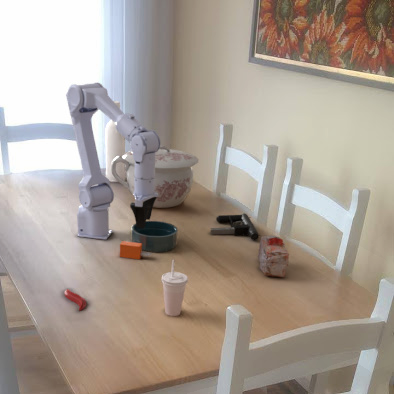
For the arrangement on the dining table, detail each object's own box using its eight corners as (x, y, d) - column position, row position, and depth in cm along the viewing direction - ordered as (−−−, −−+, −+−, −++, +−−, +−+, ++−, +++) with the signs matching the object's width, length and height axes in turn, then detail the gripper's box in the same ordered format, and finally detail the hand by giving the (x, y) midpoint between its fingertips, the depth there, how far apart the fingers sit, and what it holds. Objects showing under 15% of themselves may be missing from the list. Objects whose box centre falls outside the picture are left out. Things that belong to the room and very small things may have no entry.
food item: (288, 279, 164) (294, 247, 159) (261, 279, 163) (265, 246, 158) (278, 260, 175) (283, 230, 170) (252, 260, 175) (257, 229, 169)
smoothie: (159, 306, 145) (161, 254, 138) (184, 306, 146) (188, 255, 138) (160, 318, 140) (162, 265, 132) (186, 318, 140) (190, 266, 133)
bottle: (103, 181, 234) (102, 102, 218) (109, 176, 240) (108, 99, 225) (122, 183, 233) (122, 104, 217) (127, 178, 240) (127, 101, 224)
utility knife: (119, 257, 169) (119, 244, 167) (122, 253, 172) (122, 240, 170) (149, 260, 169) (149, 248, 167) (151, 257, 171) (152, 244, 169)
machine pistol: (214, 234, 184) (263, 232, 186) (205, 213, 201) (250, 211, 203) (214, 243, 186) (262, 241, 188) (205, 222, 203) (249, 221, 204)
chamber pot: (209, 202, 219) (213, 146, 208) (168, 220, 199) (171, 159, 188) (150, 187, 231) (151, 133, 220) (106, 202, 211) (105, 144, 200)
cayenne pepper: (88, 310, 141) (88, 303, 140) (69, 311, 139) (69, 304, 138) (81, 288, 150) (80, 282, 149) (63, 290, 149) (62, 283, 148)
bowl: (126, 249, 175) (126, 233, 172) (137, 233, 187) (137, 218, 184) (172, 255, 173) (172, 239, 171) (180, 238, 185) (181, 223, 183)
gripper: (153, 185, 154) (151, 233, 161) (163, 171, 166) (161, 217, 174) (127, 182, 155) (127, 230, 162) (139, 169, 167) (138, 214, 174)
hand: (143, 223), depth 168 cm, fingers open, 7 cm apart
